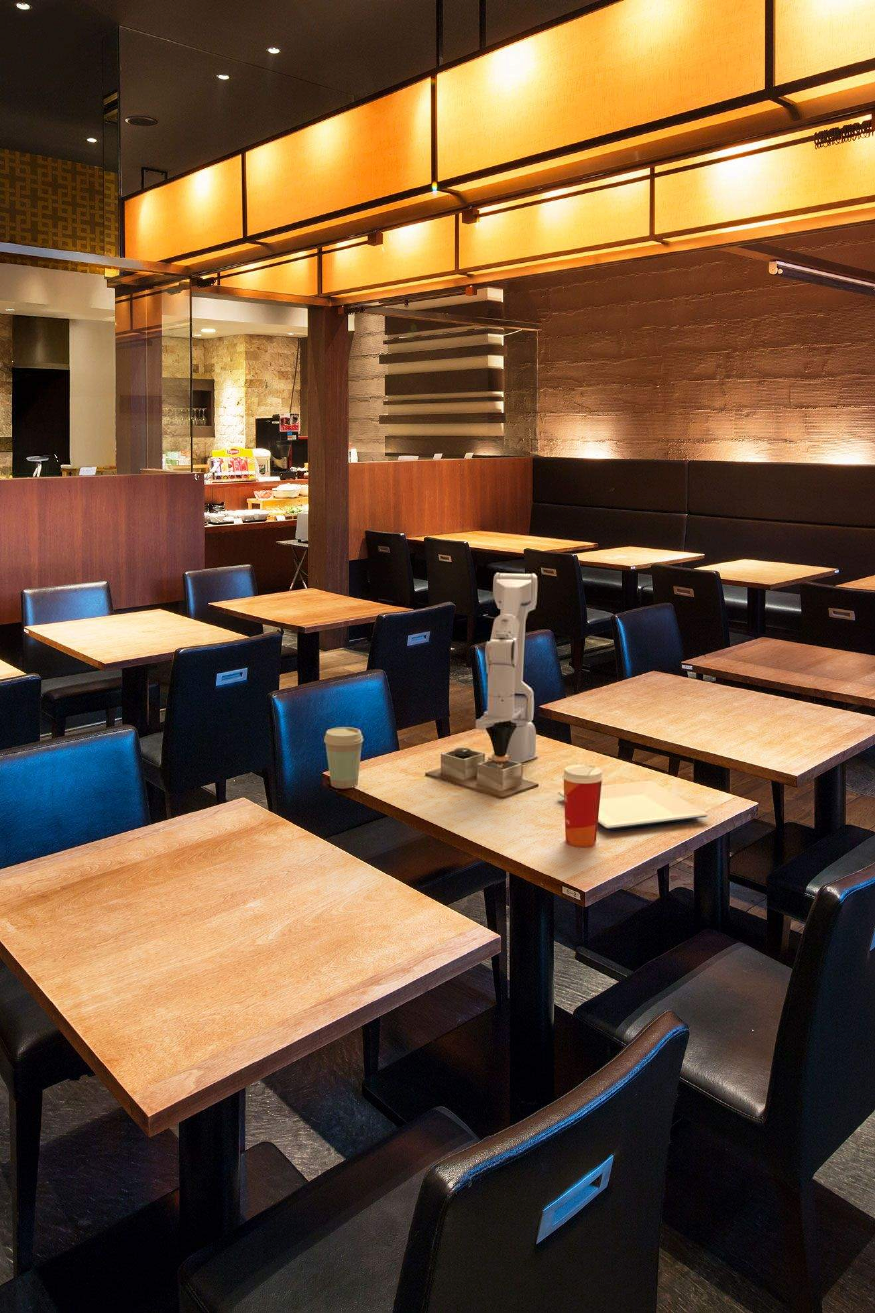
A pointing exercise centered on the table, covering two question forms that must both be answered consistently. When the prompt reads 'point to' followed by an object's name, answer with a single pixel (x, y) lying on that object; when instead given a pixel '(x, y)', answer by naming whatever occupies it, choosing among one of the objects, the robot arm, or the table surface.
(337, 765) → the coffee cup
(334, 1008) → the table surface
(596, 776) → the paper cup
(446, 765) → the press stand
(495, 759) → the copper plunger
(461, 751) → the black plunger
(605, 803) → the plate
